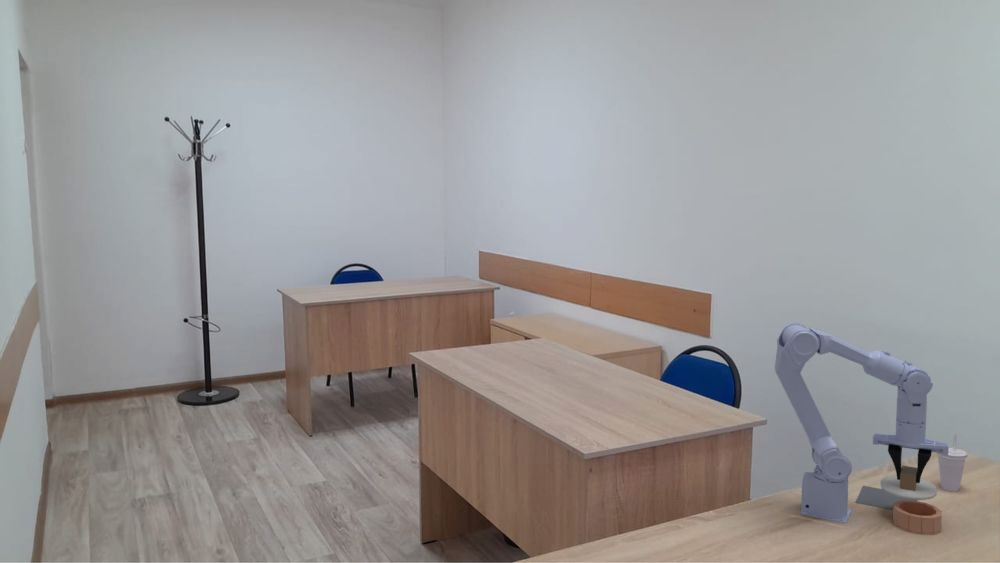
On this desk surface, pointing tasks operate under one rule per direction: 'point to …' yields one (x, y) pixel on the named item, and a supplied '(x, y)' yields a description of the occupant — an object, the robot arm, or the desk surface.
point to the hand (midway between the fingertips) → (908, 480)
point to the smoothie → (951, 467)
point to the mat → (877, 498)
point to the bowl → (917, 517)
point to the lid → (908, 485)
